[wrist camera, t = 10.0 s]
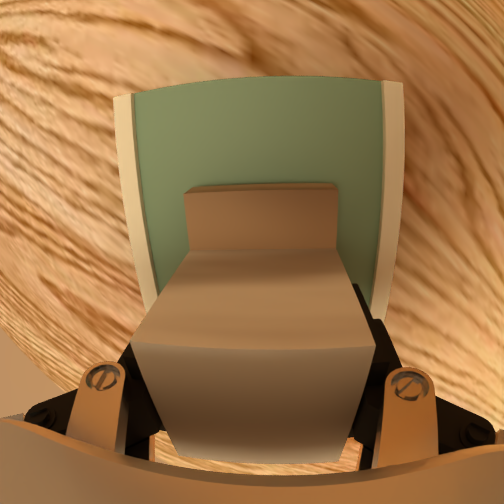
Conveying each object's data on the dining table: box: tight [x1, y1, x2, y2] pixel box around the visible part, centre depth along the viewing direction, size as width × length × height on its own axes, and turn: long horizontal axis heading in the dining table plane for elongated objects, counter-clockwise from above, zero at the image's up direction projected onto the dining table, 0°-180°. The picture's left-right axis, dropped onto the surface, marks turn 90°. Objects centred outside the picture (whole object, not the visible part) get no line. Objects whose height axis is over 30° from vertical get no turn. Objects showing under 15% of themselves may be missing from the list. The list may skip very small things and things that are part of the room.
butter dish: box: [130, 183, 376, 464], centre depth 9 cm, size 9×5×6 cm, turn 3°
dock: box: [113, 76, 405, 324], centre depth 14 cm, size 17×11×3 cm, turn 3°
